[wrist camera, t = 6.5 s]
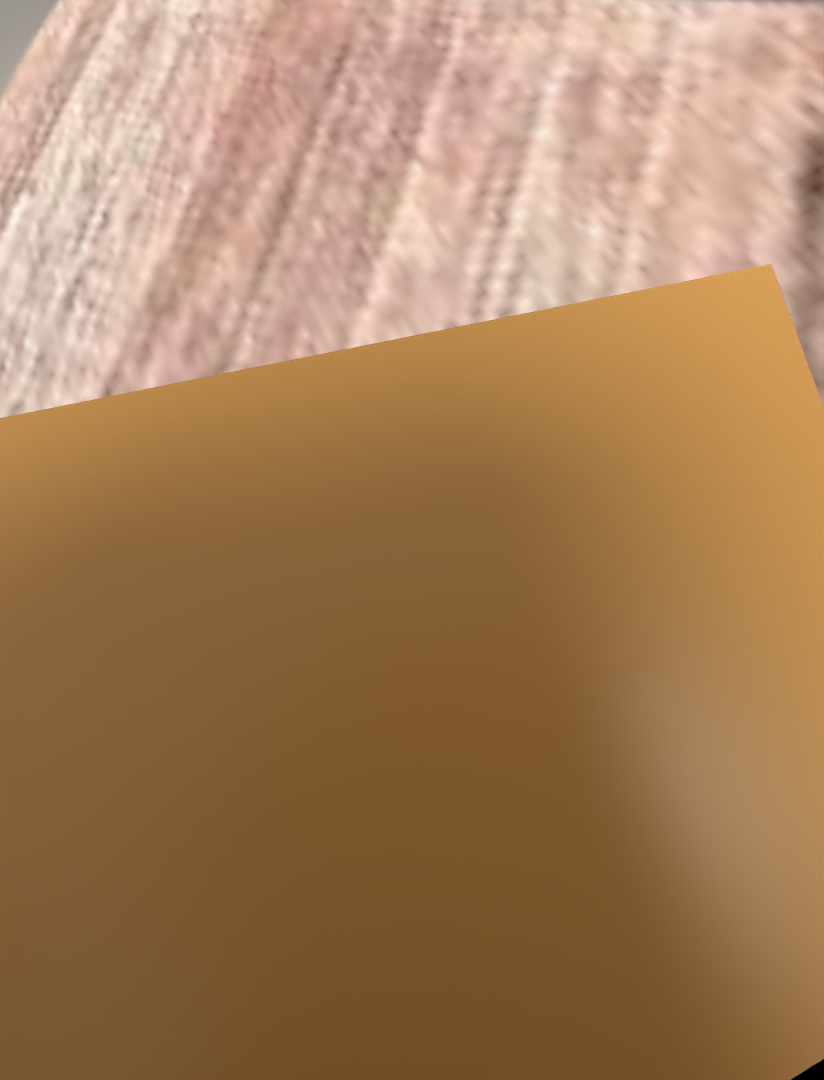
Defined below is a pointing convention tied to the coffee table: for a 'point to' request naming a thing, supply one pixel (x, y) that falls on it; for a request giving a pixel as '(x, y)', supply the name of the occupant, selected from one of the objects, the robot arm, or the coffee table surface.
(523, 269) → the coffee table surface
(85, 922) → the block
